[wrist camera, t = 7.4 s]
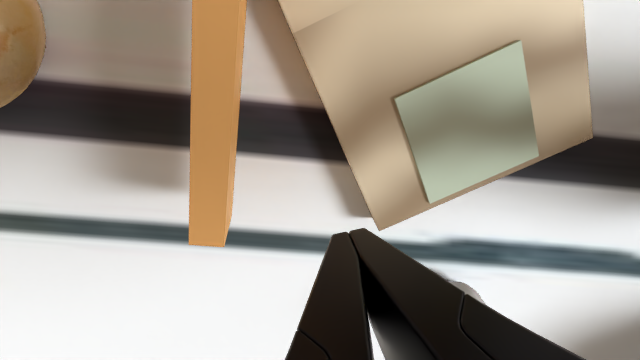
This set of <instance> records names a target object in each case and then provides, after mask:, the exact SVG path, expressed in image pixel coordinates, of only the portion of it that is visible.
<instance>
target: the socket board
mask: <svg viewBox="0 0 640 360" xmlns="http://www.w3.org/2000/svg"><path fill="white" fill-rule="evenodd" d="M278 2H279V5H280V7H281V9H282V12H283V14H284V16H285V19H286V21H287V23H288V25H289V28H290V30H291V32H292V35H293V37H294V39H295V41H296V44H297V46H298V48H299V51H300V53H301V55H302V57H303V60H304V62H305V64H306V67H307V69H308V71H309V74H310V76H311V78H312V80H313V83H314V85H315V87H316V90H317V92H318V94H319V96H320V99H321V101H322V103H323V106H324V108H325V110H326V112H327V115H328V117H329V119H330V122H331V124H332V126H333V128H334V131H335V133H336V135H337V138H338V140H339V142H340V145H341V147H342V149H343V151H344V154H345V156H346V158H347V161H348V163H349V165H350V167H351V170H352V172H353V174H354V177H355V179H356V181H357V183H358V186H359V188H360V190H361V193H362V195H363V197H364V200H365V202H366V204H367V206H368V209H369V211H370V213H371V216H372V218H373V220H374V222H375V224H376V226H377V228H378V230H379V231H381V230H383V229H385V228H388V227H390V226H392V225H394V224H397V223H399V222H401V221H404V220H406V219H408V218H410V217H413V216H415V215H417V214H420V213H422V212H424V211H427V210H429V209H431V208H433V207H436V206H438V205H440V204H443V203H445V202H447V201H449V200H452V199H454V198H456V197H459V196H461V195H463V194H465V193H468V192H470V191H472V190H475V189H477V188H479V187H481V186H484V185H486V184H488V183H491V182H493V181H495V180H497V179H500V178H502V177H504V176H507V175H509V174H511V173H513V172H516V171H518V170H520V169H523V168H525V167H527V166H529V165H532V164H534V163H536V162H539V161H541V160H543V159H545V158H548V157H550V156H552V155H555V154H557V153H559V152H562V151H564V150H566V149H568V148H571V147H573V146H575V145H578V144H580V143H582V142H584V141H587V140H589V139H591V138H593V132H592V118H591V104H590V90H589V76H588V62H587V48H586V34H585V20H584V6H583V0H278Z"/></svg>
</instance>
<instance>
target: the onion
mask: <svg viewBox="0 0 640 360" xmlns="http://www.w3.org/2000/svg"><path fill="white" fill-rule="evenodd" d="M45 42H46V34H45V27H44V20H43V15H42V12H41V9H40V6H39V4H38V2H37V0H0V107H3V106H5V105H7V104H8V103H9V102H11V101H12V100H14V99H15V98H17V97H18V96H19V95H20V94H22V93H23V92H24V90H26V89H27V87H28V85H29V84H30V83H31V82H32V81H33V79H34V78H35V76H36V74H37V72H38V70H39V67H40V65H41V61H42V58H43V56H44V52H45V48H46V45H45Z"/></svg>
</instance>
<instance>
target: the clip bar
mask: <svg viewBox="0 0 640 360" xmlns="http://www.w3.org/2000/svg"><path fill="white" fill-rule="evenodd" d="M246 6H247V0H192V59H191V128H190V198H189V245H200V246H215V247H224V245H225V241H226V237H227V233H228V229H229V225H230V220H231V216H232V204H233V190H234V176H235V162H236V147H237V133H238V119H239V105H240V91H241V77H242V62H243V48H244V34H245V20H246Z"/></svg>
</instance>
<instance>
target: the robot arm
mask: <svg viewBox="0 0 640 360" xmlns="http://www.w3.org/2000/svg"><path fill="white" fill-rule="evenodd" d="M368 317H369V320H370V323H371V326H372V328H373V331H374V333H375V336H376V338H377V340H378V343H379V345H380V348H381V350H382V353H383V355H384V357H385V360H586V359H584V358H582V357H580V356H578V355H576V354H574V353H572V352H570V351H568V350H567V349H565V348H563V347H561V346H559V345H557V344H555V343H553V342H551V341H549V340H547V339H545V338H543V337H542V336H540V335H538V334H536V333H534V332H532V331H530V330H529V329H527V328H525V327H523V326H521V325H519V324H518V323H516V322H514V321H512V320H510V319H508V318H507V317H505V316H503V315H502V314H500V313H498V312H497V311H495V310H493V309H492V308H490V307H488V306H487V305H485V304H483V303H482V302H480V301H479V300H477V299H475V298H474V297H472V296H471V295H469V294H465V292H464V291H463V290H461V289H459V288H458V287H456V286H455V285H453V284H452V283H450V282H448V281H447V280H445V279H444V278H442V277H441V276H439V275H437V274H436V273H434V272H433V271H431V270H430V269H428V268H426V267H425V266H423V265H422V264H420V263H419V262H417V261H415V260H414V259H412V258H411V257H409V256H408V255H406V254H404V253H403V252H401V251H400V250H398V249H397V248H395V247H393V246H392V245H390V244H389V243H387V242H386V241H384V240H382V239H381V238H379V237H378V236H376V235H375V234H373V233H372V232H370V231H368V230H367V229H365V228H361V229H357V230H352V231H350V232H349V233H348V232H342V233H338V234H333V235H332V237H331V239H330V242H329V245H328V247H327V250H326V253H325V255H324V258H323V261H322V263H321V266H320V269H319V271H318V274H317V277H316V279H315V282H314V285H313V287H312V290H311V293H310V296H309V298H308V301H307V304H306V306H305V309H304V312H303V314H302V317H301V320H300V322H299V325H298V328H297V331H296V333H295V335H294V338H293V341H292V343H291V346H290V348H289V351H288V353H287V356H286V358H285V360H374V355H373V348H372V341H371V334H370V327H369V320H368Z"/></svg>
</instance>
